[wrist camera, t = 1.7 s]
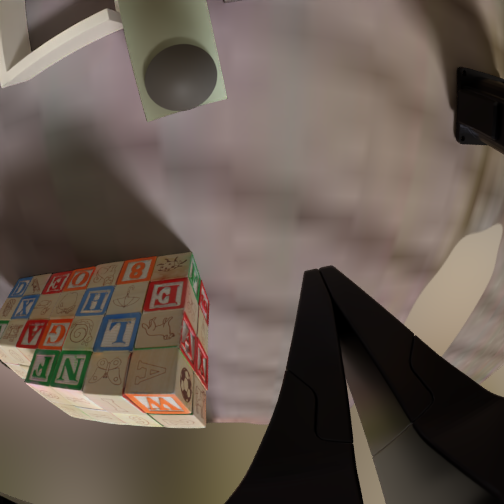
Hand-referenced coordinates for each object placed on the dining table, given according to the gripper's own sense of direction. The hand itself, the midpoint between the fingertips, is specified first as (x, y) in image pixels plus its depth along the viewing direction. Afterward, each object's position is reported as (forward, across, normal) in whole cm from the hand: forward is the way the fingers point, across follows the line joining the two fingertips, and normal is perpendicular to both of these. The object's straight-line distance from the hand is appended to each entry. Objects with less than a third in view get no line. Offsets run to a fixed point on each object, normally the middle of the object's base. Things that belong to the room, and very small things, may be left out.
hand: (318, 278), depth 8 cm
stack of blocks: (+12, +18, +9) cm, 23 cm away
